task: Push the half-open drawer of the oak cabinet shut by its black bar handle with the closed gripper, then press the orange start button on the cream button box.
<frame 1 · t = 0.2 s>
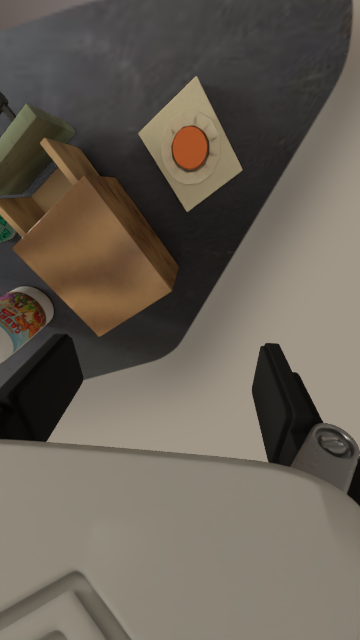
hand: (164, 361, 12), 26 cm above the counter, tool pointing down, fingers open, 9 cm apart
button box: (192, 154, 29), on the counter
start button: (190, 149, 25), point 4 cm above the counter, slide at 0.1 cm
milk bottle: (35, 304, 42), on the counter
drawer: (51, 191, 28), point 5 cm above the counter, slide at 6.0 cm
cabinet: (118, 250, 36), on the counter
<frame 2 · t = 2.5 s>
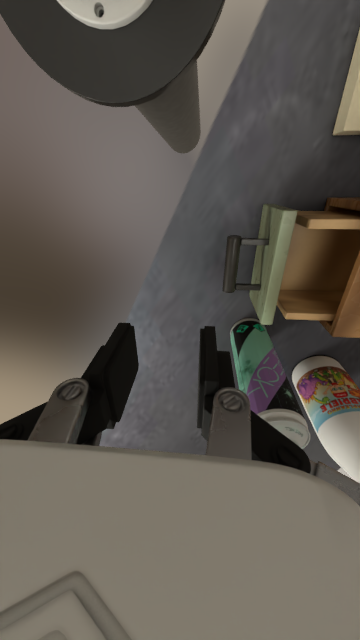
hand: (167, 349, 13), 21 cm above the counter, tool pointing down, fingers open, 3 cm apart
milk bottle: (314, 371, 39), on the counter
spray can: (247, 332, 37), on the counter
drawer: (305, 264, 26), point 5 cm above the counter, slide at 6.0 cm
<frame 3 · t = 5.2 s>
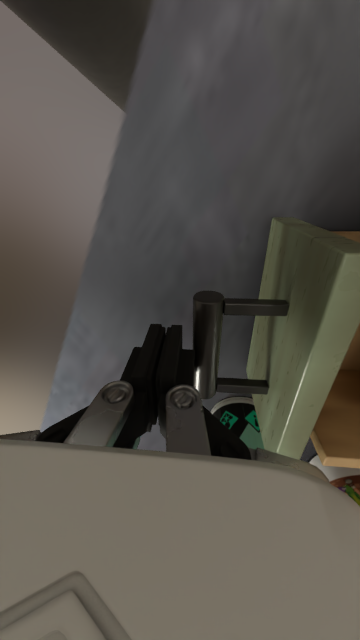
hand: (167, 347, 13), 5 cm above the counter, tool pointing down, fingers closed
milk bottle: (340, 463, 26), on the counter
spray can: (237, 413, 23), on the counter
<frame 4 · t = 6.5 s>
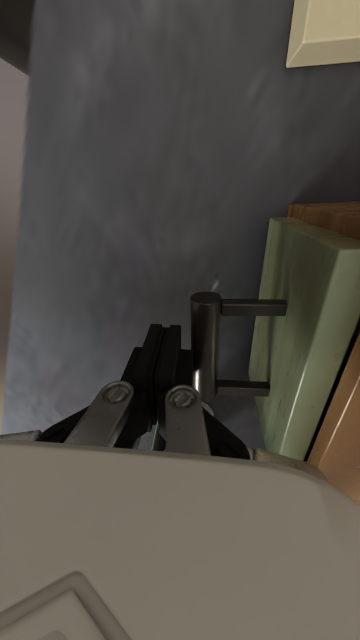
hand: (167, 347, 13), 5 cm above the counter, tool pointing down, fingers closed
spray can: (186, 414, 23), on the counter
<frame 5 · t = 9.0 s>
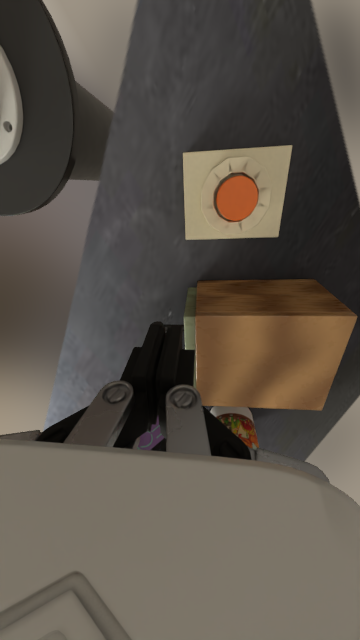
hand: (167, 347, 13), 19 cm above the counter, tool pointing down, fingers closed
button box: (231, 196, 25), on the counter
start button: (236, 198, 22), point 4 cm above the counter, slide at 0.1 cm
milk bottle: (229, 412, 43), on the counter
spray can: (162, 382, 41), on the counter
drawer: (224, 341, 29), point 5 cm above the counter, slide at 0.0 cm, touching cabinet
cabinet: (249, 322, 33), on the counter
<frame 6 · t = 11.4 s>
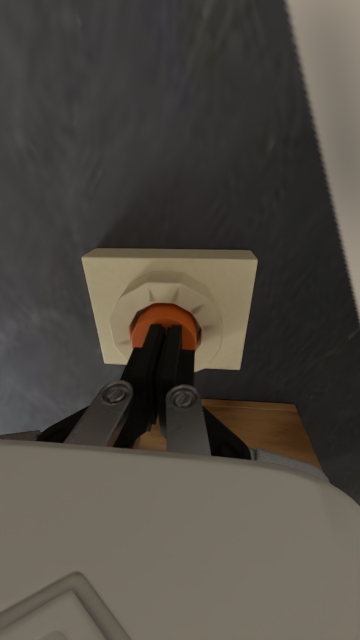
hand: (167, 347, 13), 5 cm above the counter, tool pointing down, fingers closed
button box: (172, 304, 17), on the counter
start button: (165, 336, 13), point 4 cm above the counter, slide at -0.3 cm, touching gripper
cabinet: (208, 440, 25), on the counter
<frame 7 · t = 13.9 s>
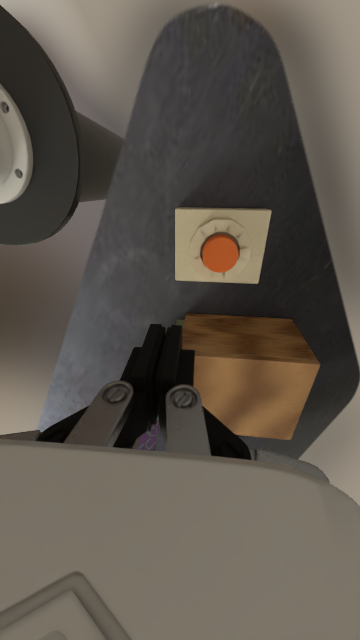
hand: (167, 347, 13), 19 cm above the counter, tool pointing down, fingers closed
button box: (218, 244, 28), on the counter
start button: (220, 253, 24), point 4 cm above the counter, slide at 0.1 cm
spray can: (149, 399, 43), on the counter
drawer: (206, 371, 32), point 5 cm above the counter, slide at 0.0 cm, touching cabinet
cabinet: (232, 351, 36), on the counter
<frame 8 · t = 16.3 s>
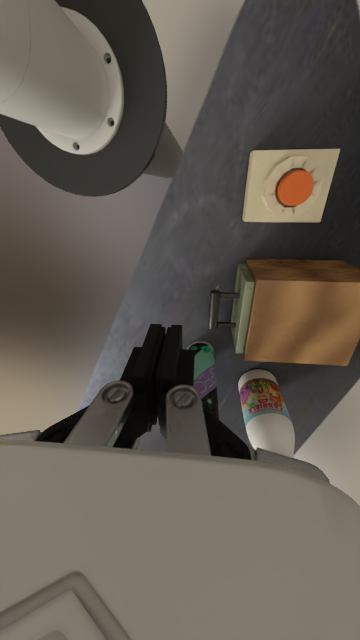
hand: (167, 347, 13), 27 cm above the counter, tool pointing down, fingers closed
button box: (283, 188, 31), on the counter
start button: (294, 188, 28), point 4 cm above the counter, slide at 0.1 cm
milk bottle: (256, 381, 49), on the counter
spray can: (200, 351, 47), on the counter
drawer: (267, 308, 35), point 5 cm above the counter, slide at 0.0 cm, touching cabinet
cabinet: (284, 296, 39), on the counter
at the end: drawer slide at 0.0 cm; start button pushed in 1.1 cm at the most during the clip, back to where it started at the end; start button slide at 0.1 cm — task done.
